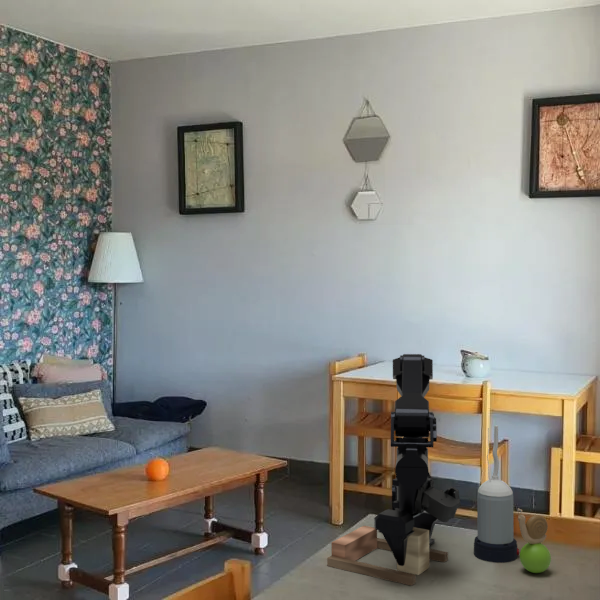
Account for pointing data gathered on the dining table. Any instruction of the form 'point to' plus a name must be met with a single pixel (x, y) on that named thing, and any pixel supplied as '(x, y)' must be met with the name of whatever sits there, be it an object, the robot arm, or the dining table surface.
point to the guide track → (364, 543)
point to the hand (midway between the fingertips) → (413, 557)
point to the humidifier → (495, 517)
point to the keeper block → (416, 552)
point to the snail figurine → (534, 543)
